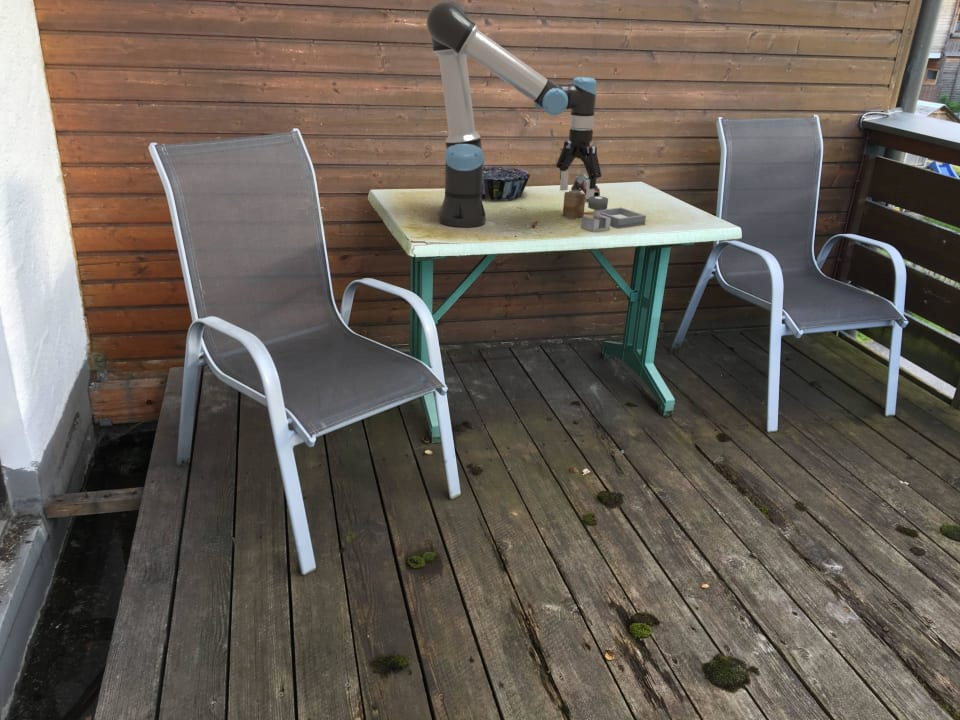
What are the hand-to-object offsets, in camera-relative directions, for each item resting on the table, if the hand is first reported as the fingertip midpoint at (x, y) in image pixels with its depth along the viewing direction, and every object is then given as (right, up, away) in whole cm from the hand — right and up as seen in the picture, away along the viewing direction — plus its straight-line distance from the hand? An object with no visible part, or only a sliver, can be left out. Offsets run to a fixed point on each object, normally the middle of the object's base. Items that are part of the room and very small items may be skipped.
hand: (576, 194), depth 258 cm
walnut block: (-1, -7, +3) cm, 8 cm away
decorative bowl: (-28, +6, +28) cm, 40 cm away
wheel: (+5, -10, -11) cm, 16 cm away
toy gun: (+7, +5, +30) cm, 31 cm away
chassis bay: (+14, -9, -1) cm, 17 cm away
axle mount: (+5, -13, -10) cm, 17 cm away
